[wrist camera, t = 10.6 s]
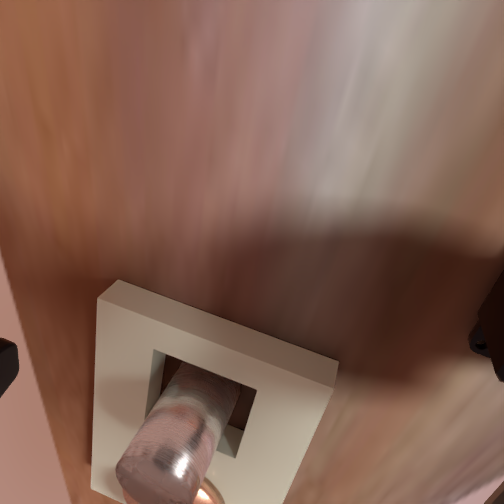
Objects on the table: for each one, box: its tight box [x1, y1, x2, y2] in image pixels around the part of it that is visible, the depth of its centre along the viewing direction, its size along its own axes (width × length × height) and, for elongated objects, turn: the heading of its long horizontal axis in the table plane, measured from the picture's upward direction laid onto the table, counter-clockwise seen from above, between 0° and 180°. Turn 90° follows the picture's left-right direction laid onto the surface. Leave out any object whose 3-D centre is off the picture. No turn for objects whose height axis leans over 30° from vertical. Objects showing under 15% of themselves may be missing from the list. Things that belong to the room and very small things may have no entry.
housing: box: [91, 279, 339, 504], centre depth 27 cm, size 13×18×2 cm
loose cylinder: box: [115, 361, 241, 504], centre depth 23 cm, size 4×4×7 cm
